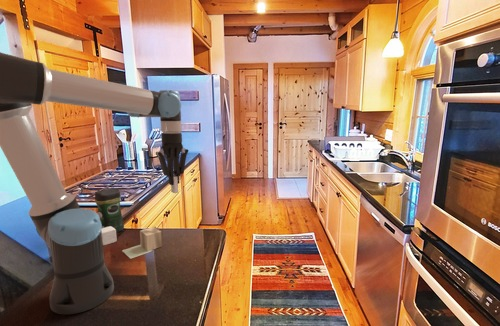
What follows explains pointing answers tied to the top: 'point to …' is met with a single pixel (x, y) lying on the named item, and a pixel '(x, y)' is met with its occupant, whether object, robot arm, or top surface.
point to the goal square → (135, 251)
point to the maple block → (151, 238)
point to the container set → (108, 235)
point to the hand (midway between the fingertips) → (174, 192)
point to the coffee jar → (109, 208)
